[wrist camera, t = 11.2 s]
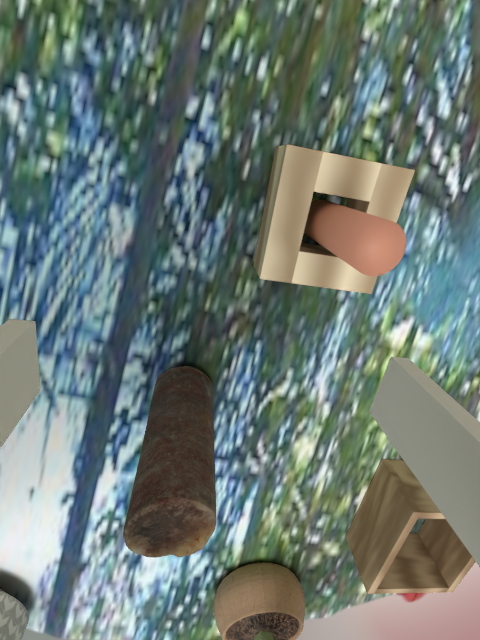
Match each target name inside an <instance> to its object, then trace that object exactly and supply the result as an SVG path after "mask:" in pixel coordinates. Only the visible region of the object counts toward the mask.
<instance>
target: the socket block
mask: <svg viewBox="0 0 480 640" xmlns="http://www.w3.org/2000/svg"><path fill="white" fill-rule="evenodd" d="M414 171H415V170H411V169H406V168H401V167H396V166H391V165H387V164H382V163H377V162H372V161H367V160H362V159H357V158H352V157H347V156H342V155H337V154H332V153H327V152H322V151H318V150H313V149H308V148H303V147H298V146H293V145H288V144H287V145H282V146H277V147H276V149H275V154H274V159H273V165H272V170H271V175H270V180H269V186H268V191H267V196H266V201H265V207H264V212H263V217H262V222H261V228H260V233H259V238H258V243H257V249H256V254H255V259H254V267H255V269H256V271H257V273H258V276H259V278H260V279H265V280H272V281H280V282H287V283H295V284H302V285H309V286H317V287H324V288H331V289H339V290H346V291H354V292H361V293H368V294H371V293H372V290H373V288H374V285H375V282H376V279H377V276H367V275H364V274H362V273H360V272H359V271H357V270H356V269H354V268H353V267H352V266H350V265H349V264H347V263H346V262H344V261H343V260H342V259H340V258H339V257H337V256H336V255H335V254H333V253H332V252H330V251H329V250H327V249H326V248H325V247H323V246H319V245H313V244H307V243H301V242H302V237H303V233H304V229H305V225H306V221H307V217H308V213H309V209H310V205H311V201H312V196H313V192H319V193H325V194H330V195H336V196H341V197H347V198H348V202H347V205H346V207H348V208H352V209H355V210H358V211H361V212H365V213H368V214H371V215H374V216H378V217H381V218H384V219H387V220H391V221H393V222H395V223H396V222H397V219H398V216H399V214H400V211H401V208H402V205H403V202H404V199H405V197H406V194H407V191H408V188H409V185H410V182H411V179H412V177H413V174H414Z"/></svg>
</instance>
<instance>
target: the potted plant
mask: <svg viewBox="0 0 480 640" xmlns="http://www.w3.org/2000/svg"><path fill="white" fill-rule="evenodd" d="M304 614H305V597H304V592H303V589H302V587H301V585H300V583H299V581H298V579H297V578H296V576H295V575H294V573H292V572H291V571H290V570H288V569H287V568H286V567H283V566H281V565H278V564H274V563H253V564H248V565H245V566H242V567H240V568H238V569H236V570H234V571H232V572H231V573H230V574H229V575H227V576H226V577H225V578H224V579H223V580H222V582H221V583H220V585H219V586H218V589H217V592H216V596H215V601H214V616H215V619H216V623H217V627H218V629H219V632H220V634H221V637H222V640H296V639H297V637H298V636H299V635H300V634H301V632H302V630H303V621H304Z"/></svg>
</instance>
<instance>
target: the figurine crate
mask: <svg viewBox="0 0 480 640" xmlns="http://www.w3.org/2000/svg"><path fill="white" fill-rule="evenodd" d="M418 518H424V519H426V521H425V522H424V524H423V526H422V527H421V529H420V531H419V532H418V533H410V531H411V530H412V528H413V526H414V524H415V523H416V521H417V519H418ZM346 539H347V541H348V544H349V547H350V549H351V552H352V555H353V557H354V560H355V563H356V565H357V568H358V571H359V573H360V576H361V579H362V581H363V584H364V586H365V589H366V592H367V594H375V593H433V592H453V591H454V590H455V588H456V587H457V586H458V584H459V583H460V582H461V580H462V579H463V578H464V576H465V575H466V574H467V572H468V571H469V570H470V568H471V567H472V566H473V564H474V563H475V562H476V561H475V560H474V558H473V557H472V555H471V554H470V553H469V551H468V550H467V548H466V547H465V546H464V544H463V543H462V541H461V540H460V539H459V537H458V536H457V534H456V533H455V532H454V530H453V529H452V527H451V526H450V524H449V523H448V522H447V520H446V519H445V517H444V516H443V515H442V513H441V512H440V510H439V509H438V508H437V506H436V505H435V503H434V502H433V501H432V499H431V498H430V496H429V495H428V494H427V492H426V491H425V489H424V488H423V487H422V485H421V484H420V482H419V481H418V480H417V478H416V477H415V475H414V474H413V472H412V471H411V470H410V468H409V467H408V465H407V464H406V463H405V461H404V460H389V459H381V462H380V464H379V466H378V468H377V470H376V472H375V475H374V477H373V479H372V481H371V483H370V485H369V487H368V490H367V492H366V494H365V496H364V498H363V500H362V502H361V505H360V507H359V509H358V511H357V513H356V515H355V517H354V520H353V522H352V524H351V526H350V528H349V530H348V533H347V535H346Z"/></svg>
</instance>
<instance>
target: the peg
mask: <svg viewBox="0 0 480 640" xmlns="http://www.w3.org/2000/svg"><path fill="white" fill-rule="evenodd" d="M304 233H305V234H306V235H307V236H309V237H310V238H312V239H313V240H315V241H316V242H317V243H319V244H320V245H322V246H323V247H325V248H326V249H327V250H329V251H330V252H332V253H333V254H335V255H336V256H337V257H339V258H340V259H342V260H343V261H344V262H346V263H347V264H349V265H350V266H352V267H353V268H354V269H356V270H357V271H359V272H360V273H362V274H364V275H367V276H379V275H382V274H385V273H387V272H389V271H390V270H392V269H393V268H394V267H395V266H396V265H397V264H398V263H399V261H400V260H401V258H402V257H403V254H404V252H405V248H406V237H405V233H404V231H403V229H402V228H401V227H400V226H399V225H398V224H397V223H395V222H393V221H391V220H387V219H384V218H381V217H378V216H374V215H371V214H368V213H365V212H361V211H358V210H355V209H352V208H348V207H345V206H342V205H339V204H335V203H332V202H329V201H326V200H321V199H319V200H314V201H312V202H311V205H310V209H309V213H308V217H307V221H306V225H305V229H304Z"/></svg>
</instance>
